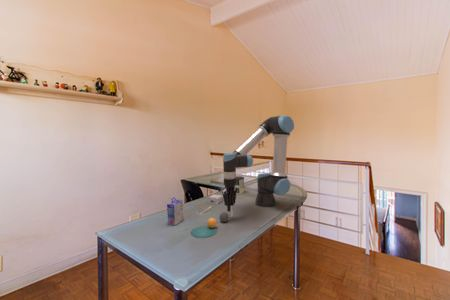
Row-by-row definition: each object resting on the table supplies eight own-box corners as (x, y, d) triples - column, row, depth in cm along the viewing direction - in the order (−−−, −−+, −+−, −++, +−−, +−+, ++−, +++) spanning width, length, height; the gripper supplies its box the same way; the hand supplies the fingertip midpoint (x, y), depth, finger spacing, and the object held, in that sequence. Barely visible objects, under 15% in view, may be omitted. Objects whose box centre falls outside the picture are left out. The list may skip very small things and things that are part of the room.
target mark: (216, 225, 125) (216, 225, 125) (217, 236, 112) (217, 236, 111) (191, 227, 124) (191, 226, 124) (189, 238, 110) (189, 238, 110)
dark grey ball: (220, 212, 129) (219, 222, 128) (229, 213, 129) (228, 223, 128) (219, 211, 134) (218, 220, 134) (228, 212, 134) (227, 221, 134)
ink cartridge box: (176, 218, 138) (175, 195, 137) (184, 219, 136) (183, 196, 135) (167, 224, 129) (166, 200, 128) (175, 225, 127) (174, 200, 126)
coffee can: (233, 194, 193) (233, 178, 192) (232, 191, 203) (232, 176, 202) (245, 194, 194) (245, 178, 193) (243, 191, 204) (243, 176, 203)
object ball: (213, 214, 123) (207, 220, 119) (220, 221, 122) (214, 227, 118) (210, 218, 127) (203, 224, 123) (216, 225, 126) (210, 231, 122)
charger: (226, 199, 180) (217, 204, 166) (216, 198, 183) (207, 203, 170) (226, 193, 179) (217, 198, 166) (216, 192, 183) (207, 197, 170)
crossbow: (208, 218, 141) (208, 215, 141) (191, 215, 146) (191, 212, 146) (219, 209, 156) (218, 206, 155) (203, 206, 161) (203, 204, 161)
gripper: (231, 175, 141) (231, 211, 143) (218, 179, 131) (218, 217, 133) (240, 177, 137) (241, 214, 138) (227, 180, 127) (228, 220, 128)
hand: (230, 215), depth 135 cm, fingers closed
